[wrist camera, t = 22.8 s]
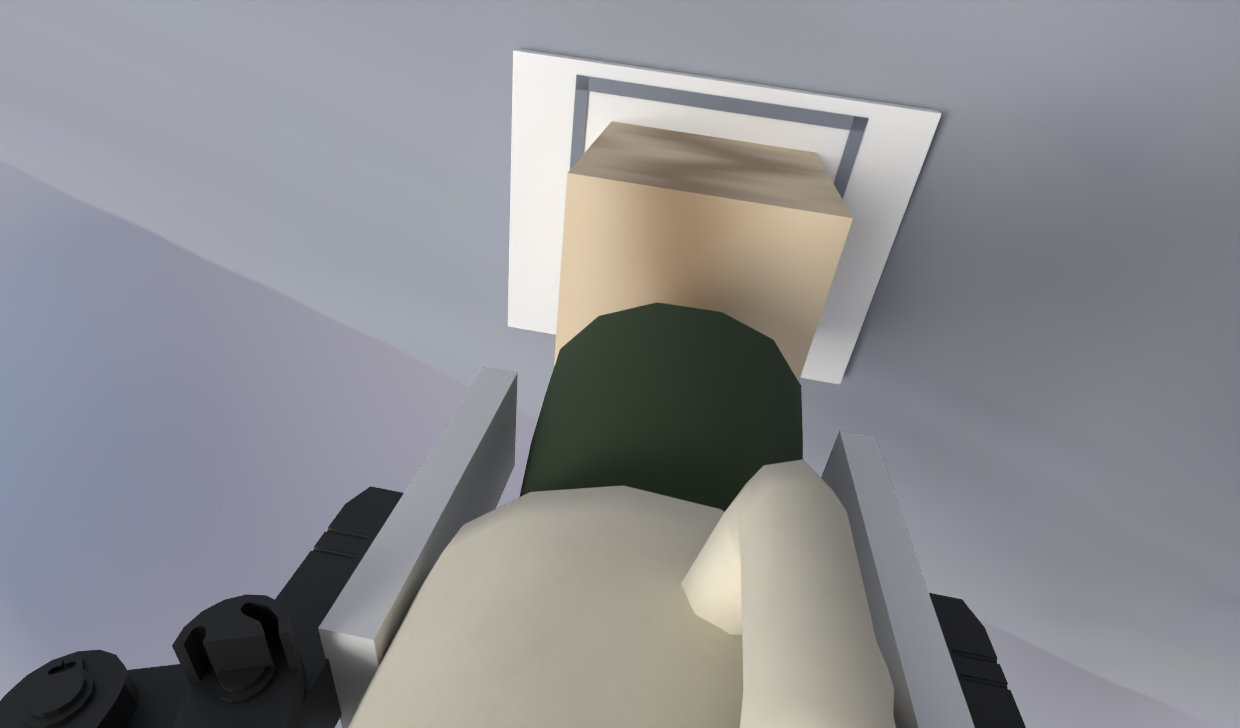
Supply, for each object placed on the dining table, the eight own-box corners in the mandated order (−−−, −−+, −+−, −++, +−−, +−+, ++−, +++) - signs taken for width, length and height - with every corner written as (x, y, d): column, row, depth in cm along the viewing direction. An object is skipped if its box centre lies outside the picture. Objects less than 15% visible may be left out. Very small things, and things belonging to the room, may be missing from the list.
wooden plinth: (815, 152, 23) (852, 218, 17) (765, 332, 28) (778, 442, 21) (611, 121, 24) (567, 172, 17) (592, 302, 28) (551, 401, 21)
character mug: (719, 574, 19) (706, 1410, 8) (498, 496, 18) (153, 1252, 7) (924, 260, 13) (2120, 1905, 2) (604, 140, 12) (-299, 1229, 2)
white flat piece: (935, 109, 23) (942, 114, 22) (837, 375, 29) (840, 385, 28) (519, 48, 24) (512, 50, 23) (512, 318, 30) (507, 327, 29)
